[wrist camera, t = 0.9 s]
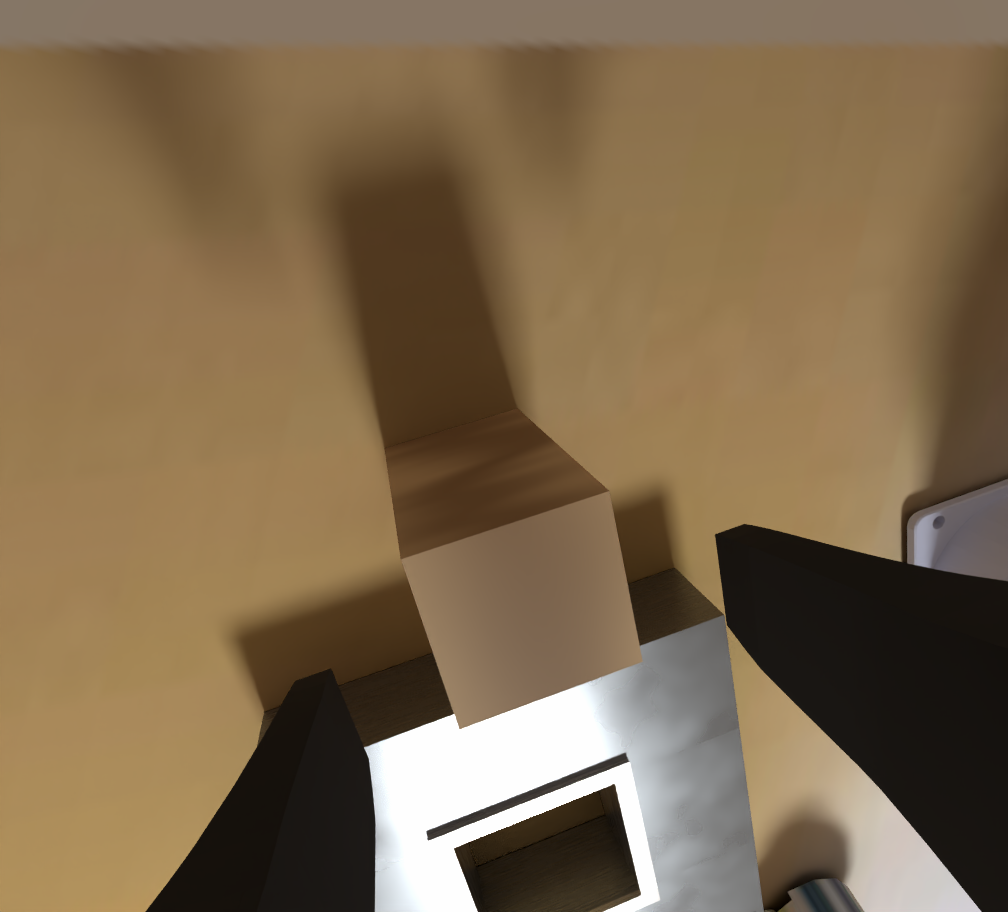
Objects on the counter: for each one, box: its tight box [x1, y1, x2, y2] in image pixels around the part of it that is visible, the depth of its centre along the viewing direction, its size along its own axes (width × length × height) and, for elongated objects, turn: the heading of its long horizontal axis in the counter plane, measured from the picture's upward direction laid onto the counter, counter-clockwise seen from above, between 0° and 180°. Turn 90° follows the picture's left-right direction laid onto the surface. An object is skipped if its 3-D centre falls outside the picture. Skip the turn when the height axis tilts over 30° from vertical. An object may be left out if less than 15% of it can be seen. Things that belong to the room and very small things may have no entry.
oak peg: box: [385, 409, 643, 730], centre depth 15 cm, size 4×4×7 cm
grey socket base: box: [257, 568, 764, 912], centre depth 21 cm, size 14×14×3 cm
